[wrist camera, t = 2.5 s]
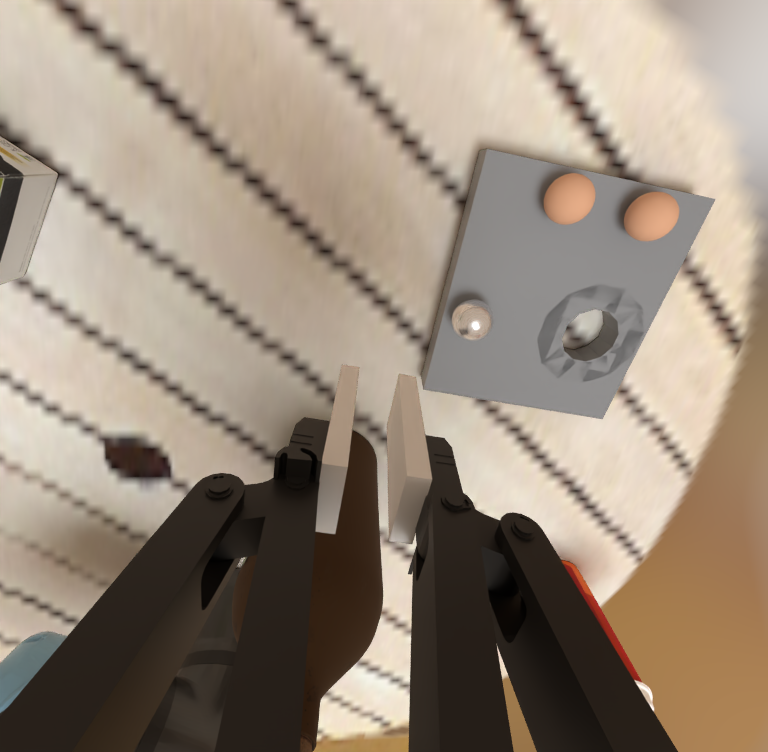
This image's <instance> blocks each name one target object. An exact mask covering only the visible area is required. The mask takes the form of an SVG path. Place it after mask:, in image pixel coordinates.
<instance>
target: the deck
mask: <svg viewBox="0 0 768 752" xmlns="http://www.w3.org/2000/svg"><path fill="white" fill-rule="evenodd" d="M571 173H577V174H581V175H584V176H586V177H587V178H589V179H590V181H591V182H592V183H593V185H594V188H595V202H594V205H593V207H592V209H591V210H590V212H589V213H588V214H587V215H586V216H585V217H584V218H583V219H581V220H580V221H578V222H576V223H573V224H568V225H563V224H558V223H555V222H553V221H552V220H551V219H550V218H549V217H548V216H547V214H546V212H545V210H544V197H545V194H546V191H547V189H548V188H549V186H550V185H551V184H552V183H553V182H554V181H555V180H556V179H558V178H559V177H561V176H563V175H566V174H571ZM650 192H664V193H667V194H669V195H671V196H672V197H673V198H674V199H675V200H676V201H677V203H678V206H679V217H678V220H677V223H676V224H675V226H674V227H673V229H672V230H671V231H670V232H669V233H668V234H666V235H665V236H663V237H661V238H659V239H657V240H653V241H639V240H636V239H634V238H632V237H631V236H630V235H629V234H628V233H627V231H626V230H625V227H624V216H625V213H626V211H627V209H628V207H629V206H630V205H631V203H632V202H633V201H634V200H636V199H637V198H638V197H640V196H642V195H644V194H647V193H650ZM714 201H715V199H712V198H708V197H703V196H699V195H694V194H690V193H685V192H681V191H676V190H672V189H667V188H663V187H658V186H654V185H649V184H644V183H640V182H635V181H631V180H626V179H622V178H617V177H613V176H608V175H604V174H599V173H595V172H590V171H586V170H581V169H577V168H572V167H568V166H563V165H559V164H554V163H550V162H545V161H540V160H536V159H531V158H527V157H522V156H518V155H513V154H509V153H504V152H500V151H495V150H491V149H484V150H480V151H479V155H478V158H477V162H476V166H475V170H474V174H473V178H472V182H471V185H470V189H469V193H468V197H467V201H466V205H465V209H464V213H463V216H462V220H461V224H460V228H459V232H458V236H457V240H456V244H455V247H454V251H453V255H452V259H451V263H450V267H449V271H448V275H447V278H446V282H445V286H444V290H443V294H442V298H441V302H440V306H439V309H438V313H437V317H436V321H435V325H434V329H433V333H432V337H431V340H430V344H429V348H428V352H427V356H426V360H425V364H424V368H423V371H422V375H421V379H422V384H423V390H429V391H435V392H441V393H447V394H453V395H459V396H466V397H472V398H478V399H484V400H490V401H496V402H502V403H508V404H514V405H520V406H526V407H532V408H538V409H544V410H550V411H556V412H563V413H569V414H575V415H581V416H587V417H593V418H599V419H603V417H604V415H605V413H606V411H607V409H608V407H609V405H610V403H611V402H612V400H613V398H614V396H615V394H616V392H617V390H618V388H619V386H620V384H621V382H622V380H623V378H624V376H625V374H626V372H627V370H628V368H629V366H630V365H631V363H632V361H633V359H634V357H635V355H636V353H637V351H638V349H639V347H640V345H641V343H642V341H643V339H644V337H645V335H646V333H647V331H648V330H649V328H650V326H651V324H652V322H653V320H654V318H655V316H656V314H657V312H658V310H659V308H660V306H661V304H662V302H663V300H664V298H665V296H666V294H667V293H668V291H669V289H670V287H671V285H672V283H673V281H674V279H675V277H676V275H677V273H678V271H679V269H680V267H681V265H682V263H683V261H684V259H685V258H686V256H687V254H688V252H689V250H690V248H691V246H692V244H693V242H694V240H695V238H696V236H697V234H698V232H699V230H700V228H701V226H702V224H703V223H704V221H705V219H706V217H707V215H708V213H709V211H710V209H711V207H712V205H713V203H714ZM472 299H475V300H480V301H483V302H484V303H486V304H487V305H488V306H489V307H490V308H491V310H492V312H493V315H494V324H493V327H492V329H491V331H490V333H489V334H488V335H487V336H486V337H484V338H482V339H480V340H477V341H468V340H464V339H462V338H461V337H459V336H458V335H457V334H456V333H455V331H454V329H453V326H452V315H453V312H454V310H455V309H456V308H457V306H458V305H459V304H461V303H462V302H464V301H467V300H472ZM594 309H596V310H602V311H603V320H604V325H603V327H602V329H601V332H600V334H599V336H598V337H597V338H596V339H595V340H594V341H592V342H591V343H590V344H589V345H588V346H585V347H582V348H579V349H575V350H571V349H566V348H563V341H562V337H563V335H564V332H565V330H566V327H567V325H568V324H569V323H570V322H571V321H572V320H573V319H575V318H576V317H577V316H578V315H579V314H581V313H584V312H587V311H591V310H594Z"/></svg>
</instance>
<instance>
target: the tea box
mask: <svg viewBox="0 0 768 752" xmlns="http://www.w3.org/2000/svg"><path fill="white" fill-rule="evenodd" d="M57 176H58V173H57V172H55V171H54V170H52V169H50V168H49V167H47V166H46V165H44V164H43V163H41V162H40V161H38V160H37V159H35V158H33V157H32V156H30V155H29V154H27V153H25V152H24V151H22V150H21V149H19V148H18V147H16V146H15V145H13V144H12V143H10V142H9V141H7V140H6V139H4V138H2V137H1V136H0V285H1V284H4V283H7V282H9V281H12V280H15V279H18V278H21V277H23V276H24V275H25V272H26V270H27V267H28V265H29V261H30V258H31V255H32V252H33V249H34V247H35V244H36V241H37V238H38V235H39V232H40V229H41V226H42V223H43V220H44V217H45V214H46V211H47V208H48V205H49V202H50V200H51V196H52V193H53V190H54V187H55V183H56V180H57Z"/></svg>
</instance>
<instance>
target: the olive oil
mask: <svg viewBox="0 0 768 752" xmlns="http://www.w3.org/2000/svg"><path fill="white" fill-rule="evenodd" d="M256 558H257V555H255V556H249V557H245V559H244V561H243V564H242V566H241V568H240V571H239V573H238V576H237V580H236V583H235V587H234V592H233V600H232V626H233V631H234V635H235V638H236V641H237V644H238V641H239V636H240V631H241V627H242V622H243V618H244V613H245V608H246V604H247V599H248V594H249V590H250V585H251V581H252V576H253V571H254V567H255V562H256ZM382 605H383V582H382V566H381V549H380V531H379V511H378V483H377V459H376V455H375V452H374V450H373V448H372V446H371V445H370V444H369V442H368V441H367V440H366V439H365V438H364V437H362V436H361V435H360V434H358V433H356V432H354V431H352V435H351V444H350V452H349V461H348V469H347V474H346V479H345V485H344V490H343V495H342V501H341V506H340V511H339V517H338V522H337V527H336V533H335V534H329V533H322V532H315V546H314V560H313V573H312V587H311V601H310V615H309V628H308V642H307V656H306V670H305V684H304V697H303V711H302V725H301V739H300V752H313V751H314V749H315V747H316V739H317V730H318V720H319V708H320V701H321V698H322V697H323V696H324V694H325V693H326V692H327V691H328V690H329V689H330V688H331V687H332V686H333V685H334V684H335V683H336V682H337V681H338V680H339V679H340V678H341V677H342V676H343V675H344V674H345V673H346V672H347V671H348V670H349V669H351V668H352V667H353V666H354V665H355V664H356V663H357V661H358V660H359V659H360V658H361V657H362V656H363V655H364V653H365V652H366V650H367V649H368V647H369V646H370V644H371V642H372V640H373V637H374V635H375V632H376V629H377V626H378V623H379V619H380V616H381V611H382Z"/></svg>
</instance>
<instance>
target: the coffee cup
mask: <svg viewBox="0 0 768 752" xmlns="http://www.w3.org/2000/svg"><path fill="white" fill-rule="evenodd" d="M561 561H562V563H563V564H564V566H565V568H566V569H567V571H568V572H569V574H570V576H571V577H572V579H573V581H574V582H575V584H576V586H577V587H578V589H579V590H580V592H581V594H582V595H583V597H584V599H585V600H586V602H587V604H588V605H589V607H590V609H591V610H592V612H593V613H594V615H595V617H596V618H597V620H598V622H599V623H600V625H601V627H602V628H603V630H604V631H605V633H606V635H607V636H608V638H609V640H610V641H611V643H612V645H613V646H614V648H615V649H616V651H617V653H618V654H619V656H620V658H621V659H622V661H623V663H624V664H625V666H626V667H627V669H628V671H629V672H630V674H631V676H632V677H633V679H634V681H635V682H636V684H637V685H638V687H639V689H640V690H641V692H642V694H643V695H644V697H645V699H646V700H647V702H648V703H649V705H650V707H651V708H652V710H653V712H654V707H653V704H652V692H651V690H650V688H649V687H648V686H646V685H645V684H644V683H642V681H641V679H640V677H639V676H638V674H637V672H636V671H635V669H634V667H633V665H632V663H631V662H630V660H629V658H628V656H627V654H626V653H625V651H624V649H623V647H622V646H621V644H620V642H619V641H618V639H617V637H616V635H615V633H614V632H613V630H612V628H611V626H610V624H609V623H608V621H607V619H606V617H605V615H604V614H603V612H602V610H601V608H600V607H599V605H598V603H597V601H596V600H595V598H594V596H593V594H592V593H591V591H590V589H589V587H588V586H587V584H586V582H585V580H584V579H583V577H582V575H581V574H580V572H579V571H578V569H577V568H576V566H575V565H574V564H572V563H570V562H568V561H564V560H561Z"/></svg>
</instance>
